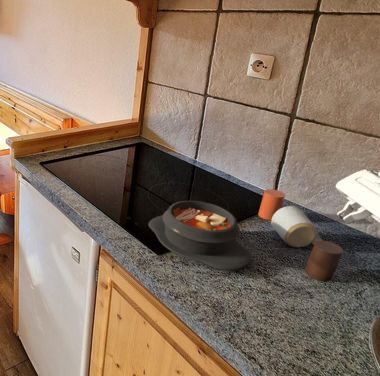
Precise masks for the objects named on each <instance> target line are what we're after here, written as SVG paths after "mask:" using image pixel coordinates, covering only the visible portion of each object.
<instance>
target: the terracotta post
mask: <svg viewBox="0 0 380 376" xmlns="http://www.w3.org/2000/svg"><path fill="white" fill-rule="evenodd" d="M285 198H286V194H285V192H283V191H280V190H277V189H272V188H267V189H265V190H263V194H262V198H261V202H260V206H259V210H258V213H257V215H258V216H259V218H261V219H264V220H266V221H271V220H272V217H273V215H274V214H275V212H276V211H278V210H279V209H281V208H283V206H284V201H285Z"/></svg>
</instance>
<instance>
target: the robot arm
mask: <svg viewBox="0 0 380 376" xmlns="http://www.w3.org/2000/svg"><path fill="white" fill-rule="evenodd" d="M372 169H373V168H372ZM376 169H377V168H374V169H373V170H371V171H367V170H365V169H361V170H359V171H356V172H354V173H351V174H349V175H348V176H346V177H344V178H342V179H341V180H339V181H338V182H337V183H336V184H335V188H336V190H337V191H338V193H339V194H340V195H341V196H342V197H344V198H345V199H346V200H347V202H346V204H345V205H344V207H343V208H342V209H341V210H340V211H338V212H337V214H336V215H337V216H338V217H339V218H340V219H341V220H342V221H343V222H345V224H351V223H352V222H354V221H358V220H365V219H367V218H369V217H371V218H373V219H374V220H375V221H376V222H378V223H379V224H380V170H379V169H377V170H376Z"/></svg>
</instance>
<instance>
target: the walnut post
mask: <svg viewBox="0 0 380 376" xmlns="http://www.w3.org/2000/svg"><path fill="white" fill-rule="evenodd" d="M343 252H344V249H343V248H342V247H341V246H340V245H338V244H336V243H334V242H331V241H329V240H323V241H316V242H315V244H314V245H313V247H312V249H311V253H310V255H309V258H308V260H307V263H306V266H305V268H304V269H305V270H304V272H305V274H306V275H307V276H308V277H310V278H311V279H314V280H316V281H318V282H324V283H326V282H332V280H333V277H334V275H335V273H336V271H337V268H338V265H339V263H340V260H341V258H342V255H343Z"/></svg>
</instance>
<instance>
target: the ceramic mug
mask: <svg viewBox="0 0 380 376" xmlns="http://www.w3.org/2000/svg"><path fill="white" fill-rule="evenodd" d="M270 221H271V226H272V228H273V230H274V231H276V233H277V234H278V235H279V237H280V238H281V239H282V240H283V241H284V243H285V244H287V245H288V246H290V247H291V248H304V247H307V246H309V245H310V244H311V245H313V246H314V244H315V242H316V241H324V240H323V239H322V237H321V236H320V235H319V234H318V233H317V229H316V227H315V225H314V224H313V222H312V221H311V220H310V219H309V218H308V216H307V215H306V214H305V212H304V211H303V210H302V209H301V208H299V207H297V206H293V205H288V206H282V208H281V209H279V210H278V211H276V212H275V214H274V215H273V217H272V220H270Z"/></svg>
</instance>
